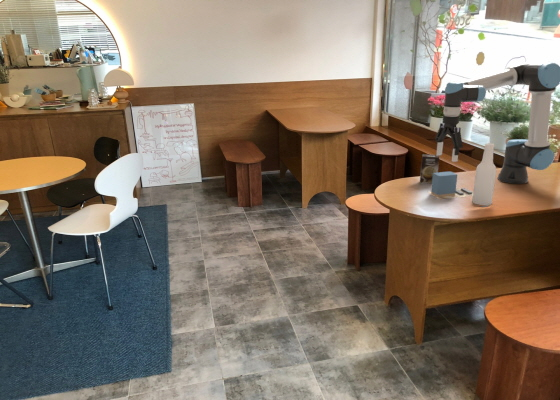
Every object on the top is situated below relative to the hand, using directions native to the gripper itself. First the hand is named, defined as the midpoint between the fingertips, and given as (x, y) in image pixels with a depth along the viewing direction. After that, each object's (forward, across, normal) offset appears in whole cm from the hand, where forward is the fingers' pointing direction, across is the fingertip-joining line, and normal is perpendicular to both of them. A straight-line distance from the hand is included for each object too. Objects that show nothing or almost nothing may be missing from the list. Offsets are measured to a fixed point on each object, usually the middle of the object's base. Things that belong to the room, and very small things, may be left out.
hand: (446, 158), depth 224 cm
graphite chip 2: (+19, 0, +14) cm, 23 cm away
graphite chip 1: (+19, 0, +9) cm, 21 cm away
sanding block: (+19, 0, 0) cm, 19 cm away
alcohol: (+20, +15, +12) cm, 28 cm away
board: (+20, 0, +6) cm, 21 cm away
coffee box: (+20, -22, +5) cm, 30 cm away
